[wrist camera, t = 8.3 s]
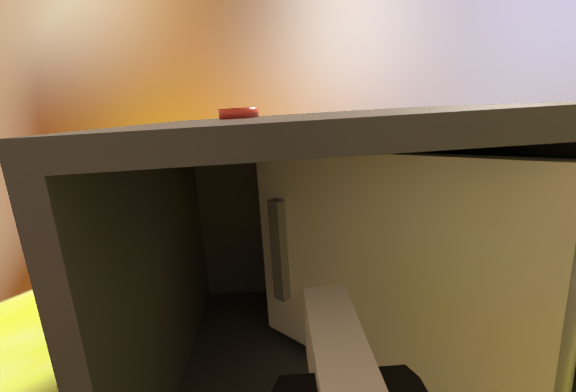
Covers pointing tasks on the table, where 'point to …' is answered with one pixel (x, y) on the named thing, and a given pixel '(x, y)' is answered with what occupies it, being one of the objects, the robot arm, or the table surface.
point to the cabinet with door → (202, 232)
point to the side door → (433, 261)
